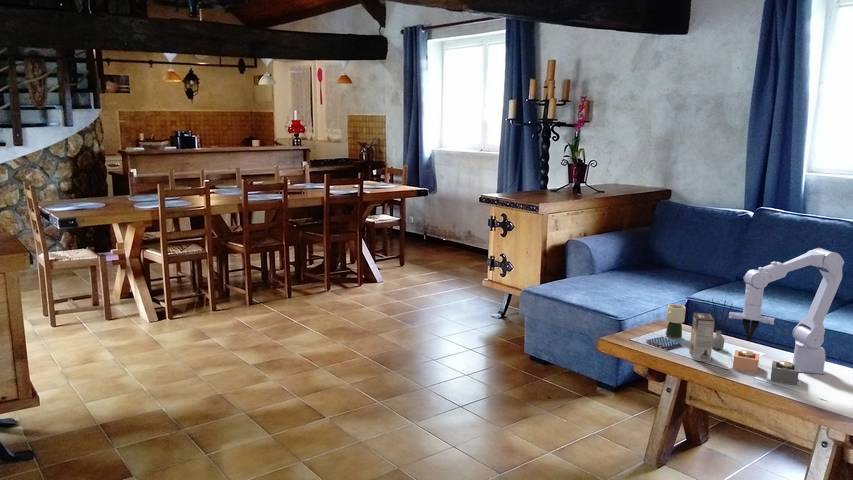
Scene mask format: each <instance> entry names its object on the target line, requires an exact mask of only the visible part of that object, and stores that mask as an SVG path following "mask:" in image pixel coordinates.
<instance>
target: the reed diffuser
mask: <svg viewBox="0 0 853 480" xmlns="http://www.w3.org/2000/svg"><path fill="white" fill-rule="evenodd" d="M711 301H712V307H713V313H714V320H715V325H716V329H715V334H713V341H712V348H714V349H717V350H718V349H720V350H723V349H724V346H725V345H724V344H725V337H724V336H722V330H723V327H724V325H725V323H726V320H727V319H728V317H729V312H731V310H732V307H733V303H731V305H730V308H729V310H728V312H727V315H726V317H725V319H724V322H723V317H724V311H725V308H726V301H727V300H724V304H723V308H722V309H723V310H722V314H721V320H720V325H719V323H718V321H719V320H718V315H717V314H718V313H717V305H716V302H714V299H713V298H711ZM722 322H723V323H722Z"/></svg>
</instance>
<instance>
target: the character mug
mask: <svg viewBox="0 0 853 480" xmlns="http://www.w3.org/2000/svg"><path fill="white" fill-rule="evenodd" d="M686 308H687V307H686V306H685V305H682V304H673V303H669V304H667V307H666V317H665V318H666V321H667V322H668V323H667V327H666V331H665V336H667V337H670V338H680V339H681V338H682V337H683V327H682V324H684V323H685V319H686Z"/></svg>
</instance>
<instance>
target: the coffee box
mask: <svg viewBox="0 0 853 480" xmlns="http://www.w3.org/2000/svg"><path fill="white" fill-rule="evenodd" d="M692 313H693V314H692V322H691V325H692V326H691V332H690V343H689V349H688V350H689V354H690V356H691V358H692V360H693V361H699V362H700V361H701V362H709V361H710V362H711V358H712V357H711V356H712V351H713V350H712V348H713V347H712V341H713V336H714V331H715V325H716V320H715V317H713V315H712V314H711V313H705V312H704V313H701V312H692Z"/></svg>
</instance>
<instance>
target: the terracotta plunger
mask: <svg viewBox="0 0 853 480" xmlns="http://www.w3.org/2000/svg"><path fill="white" fill-rule="evenodd" d="M740 351H741V355H744V356H745V357H747V358H748V357H749V356H753V353H754V352H753V351H751V350H747V349H746V350H745V349H741V350H740Z"/></svg>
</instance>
